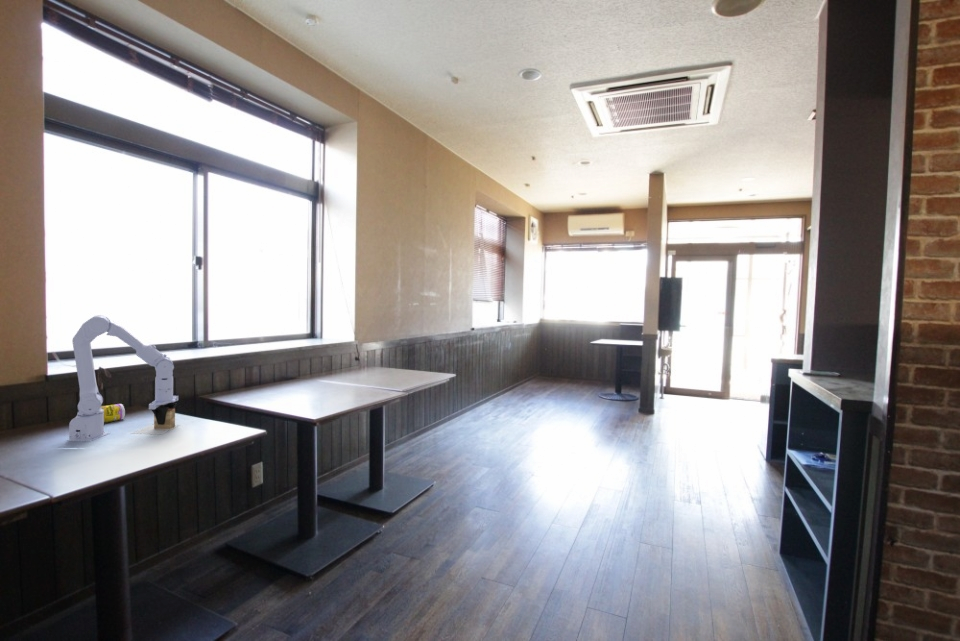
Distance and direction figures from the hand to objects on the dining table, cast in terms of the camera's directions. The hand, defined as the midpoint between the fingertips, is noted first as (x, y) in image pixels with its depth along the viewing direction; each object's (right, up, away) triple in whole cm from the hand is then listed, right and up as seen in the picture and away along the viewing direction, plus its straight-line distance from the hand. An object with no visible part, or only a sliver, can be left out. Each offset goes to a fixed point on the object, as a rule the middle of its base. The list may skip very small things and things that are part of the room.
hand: (164, 423), depth 174 cm
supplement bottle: (-24, +3, +10) cm, 26 cm away
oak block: (0, -2, 0) cm, 2 cm away
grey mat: (-2, -2, -2) cm, 3 cm away
